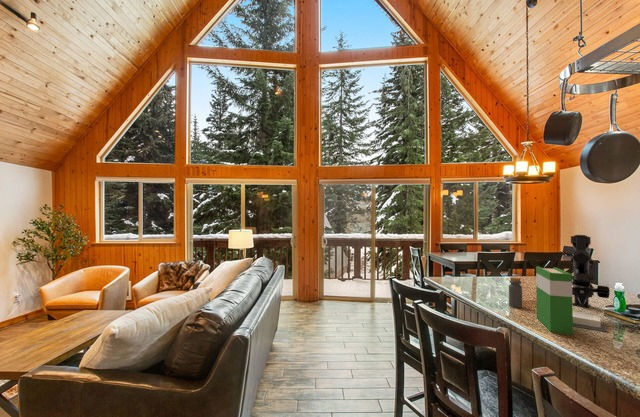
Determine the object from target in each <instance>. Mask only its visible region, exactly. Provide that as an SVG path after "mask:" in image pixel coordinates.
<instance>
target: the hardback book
mask: <svg viewBox="0 0 640 417" xmlns="http://www.w3.org/2000/svg"><path fill="white" fill-rule="evenodd" d="M535 270H536V271H535V272H536V274H535V276H536V277H535V279H536V280H535V281H536V283H535V284H536V319H538V320H539V321H540V322H541V323H542V324H543V325H544V326H545V327H546V328H547V329H548V330H549V331H550V332H554V333H553V334H558V333H559V334H560V335H567V334H568V335H569V336H573V335H574V333H573V332H574V330H573V328H574V326H573V311H574V310H573V305H572V304H573V295H572V282H573V274H572V273H570V272H568V271H565V270H563V269H560V268H558V267H555V266H553V267H552V268H543V267H541V266H538V265H537V266H536V268H535ZM539 321H538V322H539ZM540 322H539V323H540ZM541 323H540V324H541ZM542 324H541V325H542ZM543 325H542V326H543ZM544 326H543V327H544ZM545 327H544V328H545ZM546 328H545V329H546ZM547 329H546V330H547ZM548 330H547V331H548ZM549 331H548V332H549ZM550 332H549V333H550Z"/></svg>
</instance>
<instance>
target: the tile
mask: <svg viewBox="0 0 640 417" xmlns="http://www.w3.org/2000/svg"><path fill="white" fill-rule="evenodd" d="M601 323H602V322H601V318H600V315H599V314H596V313H589V312H583V311H576V310H573V324H577V325H582V326H588V327H594V328H599V329H601Z"/></svg>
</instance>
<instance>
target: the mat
mask: <svg viewBox="0 0 640 417" xmlns="http://www.w3.org/2000/svg"><path fill="white" fill-rule="evenodd" d="M573 328H582V329H586V330H592V331H596V332H604V333H608V332H609V331H608V328H607V325H606V323H605V322H601V329H599V328H594V327H588V326H582V325H577V324H573Z"/></svg>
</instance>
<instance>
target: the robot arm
mask: <svg viewBox="0 0 640 417" xmlns="http://www.w3.org/2000/svg"><path fill="white" fill-rule="evenodd" d="M591 242H592V241H591V236H588V235H586V234H574V235H572V236H570V244H571V245H572V249H573V250H574V251H573V252H572V256H570V263H571V264H572V265H573V275H572V296H574V297H573V298H574V299H573V300H574V301H573V302H572V306H577V307H580V308H581V307H582V308H588V309H589V308H590V307H591V306H592V305H591V304H590V302H589V298H593V296H594V293H596V295H597V297H598V298H604V299H609V298H610V292H611V290H610V287H609V286H607V285H601V284H600V285H597V286H596V287H595V286H593V285H592V283H591V282H595V274H594V273H592V272H591V273H590V266H591V265H592V264H593V263H594V260H593V259H592V257H590V253H589V252H588V250H589V248H590V246H591Z"/></svg>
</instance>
